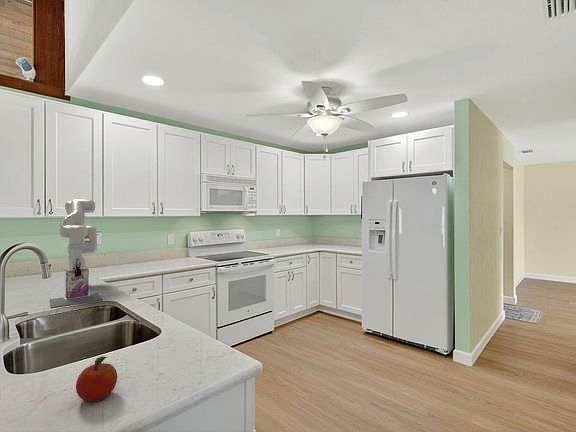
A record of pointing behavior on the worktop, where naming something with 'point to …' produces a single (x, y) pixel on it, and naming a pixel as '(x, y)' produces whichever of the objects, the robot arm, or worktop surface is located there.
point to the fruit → (96, 381)
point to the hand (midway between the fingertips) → (77, 275)
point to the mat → (74, 300)
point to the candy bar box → (76, 283)
